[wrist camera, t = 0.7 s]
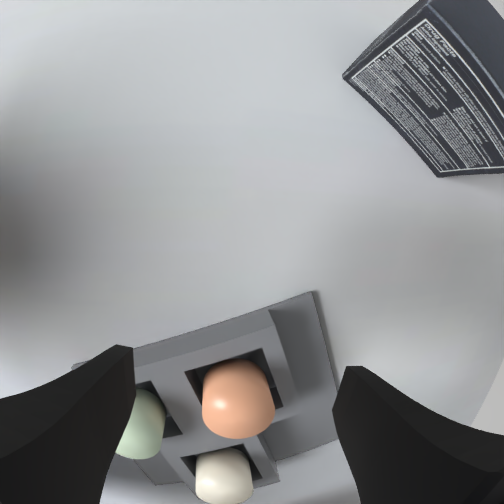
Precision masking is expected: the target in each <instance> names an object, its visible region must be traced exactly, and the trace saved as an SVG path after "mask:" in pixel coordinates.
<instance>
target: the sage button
mask: <svg viewBox="0 0 504 504" xmlns="http://www.w3.org/2000/svg"><path fill="white" fill-rule="evenodd" d="M165 420H166V409H165V407H164V405H163V403H162V402H161V400H160V399H159V398H158V397H157V396H155V395H154V394H153V393H151V392H149V391H147V390H145V389H143V388H139V387H136V398H135V402H134V406H133V409H132V413H131V416H130V419H129V422H128V424H127V426H126V429H125V431H124V433H123V436H122V438H121V440H120V443H119V445H118V447H117V450H116V452H115V453H117V454H119V455H121V456H124V457H127V458H131V459H147V458H151V457H153V456H155V455H156V454H157V453H158V452H159V450H160V448H161V442H162V437H163V431H164V426H165Z"/></svg>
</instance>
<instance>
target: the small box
mask: <svg viewBox="0 0 504 504" xmlns="http://www.w3.org/2000/svg"><path fill="white" fill-rule="evenodd" d="M342 78H343V79H344V80H345V81H346V82H347V83H348V84H350V85H351V86H352V87H353V88H354V89H355V90H356V91H357V92H358V93H359V94H360V95H362V96H363V97H364V98H365V99H366V100H367V101H368V102H369V103H370V104H371V105H372V106H373V107H374V108H375V109H376V110H377V111H378V112H379V113H380V114H381V115H382V116H383V117H384V118H385V119H386V120H387V121H388V122H389V123H390V124H391V125H392V126H393V127H394V128H395V129H396V130H397V131H398V132H399V134H400V135H401V136H402V137H403V138H404V139H405V140H406V141H407V142H408V143H409V144H410V146H411V147H412V148H413V149H414V150H415V151H416V152H417V154H418V155H419V156H420V157H421V158H422V160H423V161H424V162H425V163H426V164H427V165H428V166H429V168H430V169H431V170H432V171H433V173H434V174H435V175H436V176H437V177H447V176H457V175H474V174H499V173H504V19H503V18H502V17H501V16H500V14H499V13H498V12H497V11H496V10H495V8H494V7H493V6H492V5H491V4H490V3H489V1H488V0H419V1H418V2H417V3H416V4H415V5H413V6H412V7H411V8H410V9H409V10H407V11H406V12H405V13H404V14H403V15H402V16H401V17H400V18H398V19H397V20H396V21H395V22H394V23H393V24H392V25H391V26H390V27H389V28H387V29H386V30H385V31H384V32H383V33H382V34H381V35H379V36H378V37H377V38H376V39H375V40H374V41H373V42H372V43H371V44H370V46H369V47H368V48H367V49H366V50H365V51H364V52H363V53H362V54H361V55H360V56H359V57H358V58H357V59H356V60H355V61H354V62H353V63H352V65H351V66H350V67H349V68H348V69H347V70H346V71H345V72H344V73H343V75H342Z"/></svg>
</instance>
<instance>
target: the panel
mask: <svg viewBox="0 0 504 504" xmlns="http://www.w3.org/2000/svg"><path fill="white" fill-rule="evenodd" d="M133 356H134V371H135V384H136V387H139V388H143V389H145V390H147V391H149V392H151V393H153V394H154V395H155V396H157V397H158V398H159V399H160V400H161V402H162V403H163V405H164V407H165V409H166V420H165V426H164V431H163V437H162V442H161V448H160V450H159V452H158V453H157V454H156V455H155V456H153V457H151V458H147V459H133V460H134V461H135V462H136V464H137V465H138V466H139V467H140V468H141V470H142V471H143V472H144V473H145V474H146V475H147V477H148V478H149V479H150V480H151V481H152V482H153V483H154V484H155V485H163V484H171V483H178V482H185V484H186V485H187V486H188V487H189V488H190V490H191V491H192V492H193V493H194V494H195V495H196V496H197V494H196V460H197V457H198V456H199V455H200V454H201V453H204V452H209V451H214V450H218V449H222V448H226V447H229V448H234V449H237V450H240V451H241V452H243V453H244V454H245V455H246V456H247V457H248V459H249V465H250V471H251V477H252V484H253V489H254V488H258V487H262V486H266V485H269V484H273V483H277V482H280V479H279V475H278V471H277V467H276V463H275V461H277V460H280V459H284V458H287V457H290V456H293V455H296V454H299V453H302V452H305V451H308V450H311V449H313V448H316V447H319V446H321V445H324V444H327V443H329V442H332V441H334V440H337V439H339V438H338V435H337V432H336V428H335V424H334V419H333V414H332V408H333V405H334V402H335V399H336V396H337V390H336V386H335V381H334V377H333V373H332V369H331V365H330V361H329V357H328V353H327V349H326V345H325V341H324V337H323V333H322V329H321V326H320V322H319V318H318V314H317V310H316V307H315V303H314V299H313V296H312V293H311V292H307V293H304V294H301V295H299V296H296V297H293V298H290V299H288V300H285V301H282V302H279V303H276V304H274V305H271V306H268V307H265V308H262V309H259V310H256V311H253V312H250V313H248V314H245V315H242V316H239V317H236V318H233V319H230V320H227V321H223V322H220V323H217V324H214V325H211V326H208V327H205V328H202V329H198V330H195V331H192V332H189V333H186V334H182V335H179V336H176V337H172V338H169V339H166V340H162V341H159V342H156V343H152V344H149V345H145V346H142V347H138V348H135V349H133ZM233 358H239V359H245V360H249V361H251V362H253V363H255V364H257V365H258V366H259V367H260V368H261V369H262V370H263V372H264V373H265V375H266V379H267V382H268V386H269V389H270V392H271V396H272V399H273V403H274V406H275V416H274V419H273V421H272V422H271V424H270V425H269V426H268V427H267V428H266V429H265V430H264V431H262V432H261V433H259V434H257V435H255V436H252V437H248V438H243V439H231V438H226V437H222V436H219V435H217V434H215V433H214V432H212V431H211V430H210V429H209V428H208V427H207V426H206V424H205V423H204V421H203V417H202V401H203V381H204V377H205V375H206V373H207V372H208V370H209V369H210V368H211V367H212V366H214V365H215V364H216V363H218V362H220V361H223V360H227V359H233ZM86 362H88V361H86ZM86 362H82V363H78V364H74V365H73V366H72V367H71V368H72V370H74V369H76V368H78V367H79V366H81V365H83V364H84V363H86ZM118 455H119V454H118ZM119 456H121V455H119ZM197 498H198V499H200V498H199V497H198V496H197Z"/></svg>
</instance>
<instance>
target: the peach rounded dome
mask: <svg viewBox="0 0 504 504" xmlns="http://www.w3.org/2000/svg"><path fill="white" fill-rule="evenodd" d="M274 416H275V406H274V403H273V399H272V396H271V392H270V389H269V386H268V382H267V379H266V375H265V373H264V372H263V370H262V369H261V368H260V367H259V366H258V365H257V364H255V363H253V362H251V361H249V360H245V359H239V358H233V359H227V360H223V361H220V362H218V363H216V364H215V365H214V366H212V367H211V368H210V369H209V370H208V372H207V373H206V375H205V377H204V381H203V401H202V417H203V421H204V423H205V424H206V426H207V427H208V428H209V429H210V430H211V431H212V432H214V433H215V434H217V435H219V436H222V437H226V438H231V439H243V438H248V437H252V436H255V435H257V434H259V433H261V432H262V431H264V430H265V429H266V428H267V427H268V426H269V425H270V424H271V422H272V421H273V419H274Z"/></svg>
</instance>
